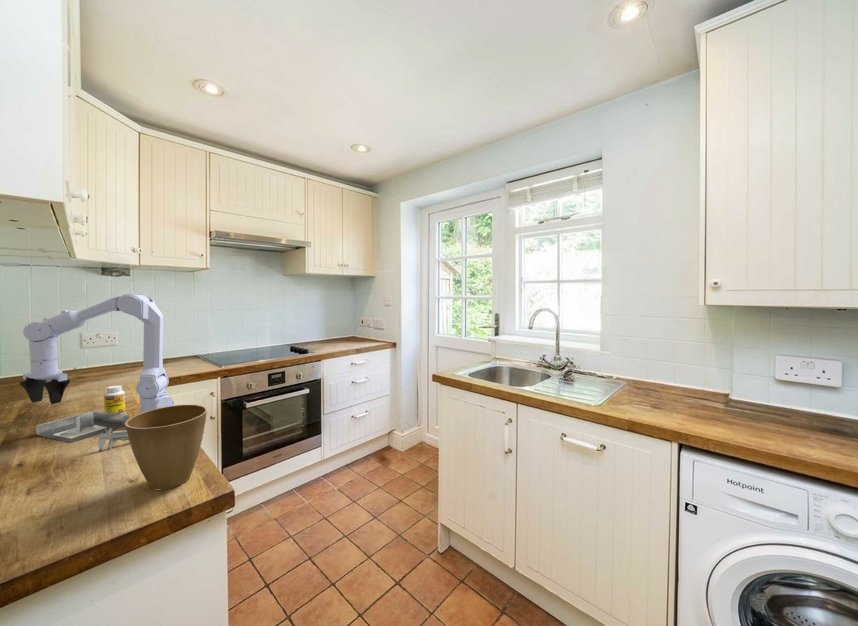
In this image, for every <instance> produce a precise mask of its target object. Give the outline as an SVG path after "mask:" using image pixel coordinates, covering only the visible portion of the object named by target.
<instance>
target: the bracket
mask: <svg viewBox="0 0 858 626" xmlns="http://www.w3.org/2000/svg"><path fill="white" fill-rule="evenodd" d="M87 412H88V413H86V412H85V413H86V414H83V415H81V416H78V417H76V428H72V429H70V430H68V431H65V432H63V433H61V434H60V436H66V435H81V434H83V433H85V432H88V431H90V430H92V429H94V416H93V412H90V411H87Z"/></svg>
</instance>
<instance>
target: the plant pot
mask: <svg viewBox="0 0 858 626" xmlns="http://www.w3.org/2000/svg"><path fill="white" fill-rule="evenodd" d="M207 413H208V409H207V407H206V406H203V405H199V404H177V405H175V404H174V406H168V407H162V408H157V409H153V410H150V411H146V412H143V413H138V414H135V415H134V416H131V417H129V419H128V420H127V421H126V422H125V426H124V427H125V430H127V434H128V438H129V440H128V441H129V445H130V448H131V450H132V453H133V456H134V458H135V459H134V460H135V461H136V463H137V465H138V468H139V470H140V472H141V473H142V475H143V477H144V479H145V481H146V482H147V484H148V485H149V487H150V488H151V489H152V490H154V489H166V490H169V489H168V488H170V489H173V488H172V487H174V488H176V487H175V486H177V487H178V485H179V486H181V485H183V484H184V482H185V483H186V482H187V481H189V480H190V479H191V476H192V473H193V471H194V468H195V465H196V463H197V459H198V456H199V453H200V449H201V446H202V441H203V438H204V433H205V427H206V420H207V419H206V418H207ZM182 483H183V484H182ZM180 484H181V485H180Z"/></svg>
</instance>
